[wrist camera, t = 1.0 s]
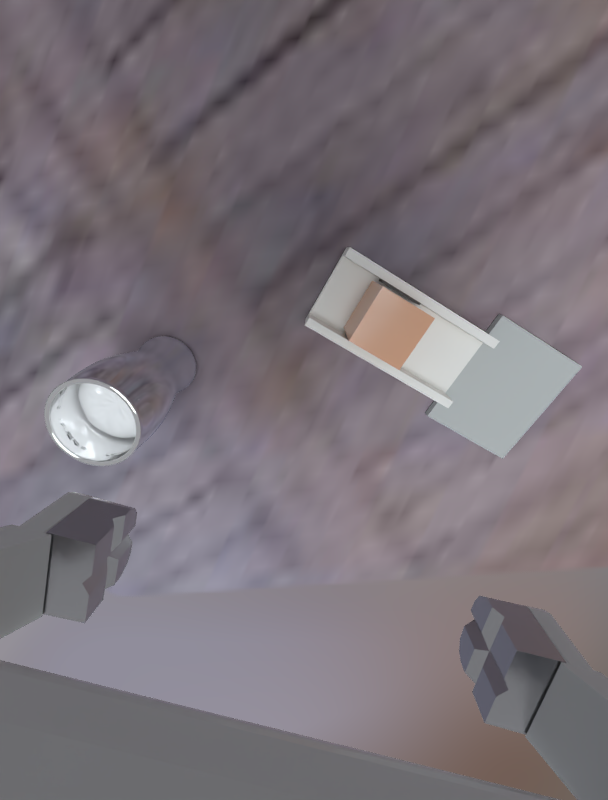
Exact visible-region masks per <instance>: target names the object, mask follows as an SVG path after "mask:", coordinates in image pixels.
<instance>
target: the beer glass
mask: <svg viewBox="0 0 608 800" xmlns="http://www.w3.org/2000/svg"><path fill="white" fill-rule="evenodd" d="M195 375H196V361H195V358H194V355H193V353H192V352H191V350H190V349H189V348H188V347H187V346H186V345H185V344H184V343H183V342H181V341H180V340H178V339H176V338H173V337H169V336H157V337H153V338H151V339H149V340H148V341H146V342H145V343H144V344H143V345H142V346H141V347H140V348H139V350H138V351H134V352H127V353H122V354H117V355H114V356H110V357H107V358H104V359H102V360H100V361H97V362H95V363H93V364H91V365H90V366H88V367H86V368H84V369H83V370H81V371H80V372H78V373H77V374H75V375H74V376H73V377H71V378H70V379H68V380H67V381H66V382H64V383H62V384H60V385H59V386H58V387H56V388H55V389H54V390H53V391H52V392H51V394H50V395H49V397H48V399H47V401H46V404H45V409H44V418H45V424H46V427H47V430H48V432H49V434H50V436H51V438H52V439H53V441H54V442H55V443H56V445H57V446H58V447H59V448H60V449H61V450H62V451H63V452H65V453H66V454H67V455H69V456H70V457H72V458H73V459H75V460H77V461H80V462H82V463H85V464H89V465H94V466H110V465H114V464H118V463H120V462H122V461H124V460H126V459H127V458H128V457H130V456H131V455H132V454H133V452H134V451H135V450H137V449H138V448H139V447H140V446H141V445H142V444H143V443H145V442H146V441H147V440H148V439H149V438H150V437H151V436H152V435H153V434H154V433H155V432H156V431H157V429H158V428H159V427H160V425H161V424H162V423H163V421H164V420H165V418H166V417H167V415H168V413H169V411H170V409H171V406H172V404H173V401H174V399H175V396H176V394H177V393H178V392H180V391H182V390H184V389H186V388H187V387H188V386H189V385H190V384H191V383H192V382H193V380H194V378H195Z"/></svg>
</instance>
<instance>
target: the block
mask: <svg viewBox="0 0 608 800" xmlns="http://www.w3.org/2000/svg"><path fill="white" fill-rule="evenodd" d="M434 319H435V318H433V317H432V316H430V315H429V314H427V313H425V312H424V311H422V310H421V309H419V308H417V307H416V306H414V305H413V304H411V303H409V302H408V301H406V300H404V299H403V298H401V297H400V296H398V295H396V294H395V293H393V292H392V291H390V290H388V289H387V288H385V287H383V286H382V285H380V284H378V283H376V282H374V281H372V282H371V283H370V285H369V287H368V288H367V290H366V291H365V293H364V295H363V296H362V298H361V300H360V301H359V303H358V305H357V306H356V308H355V309H354V311H353V313H352V314H351V316H350V318H349V319H348V321H347V322H346V324H345V326H344V330H345V332H346V335H347V337H348V340H349V341H350V342H352V343H353V344H355V345H357V346H359V347H360V348H362V349H364V350H365V351H367V352H369V353H371V354H372V355H374V356H376V357H377V358H379V359H381V360H383V361H384V362H386V363H388V364H389V365H391V366H393V367H394V368H396V369H398V370H400V368H401V367H402V366H403V364H404V363H405V361H406V360H407V358H408V357H409V355H410V354H411V353H412V351H413V350H414V348H415V347H416V345H417V344H418V342H419V341H420V340H421V338H422V337H423V335H424V334H425V332H426V331H427V329H428V328H429V327H430V325H431V324H432V322H433V321H434Z"/></svg>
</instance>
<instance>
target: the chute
mask: <svg viewBox="0 0 608 800" xmlns="http://www.w3.org/2000/svg"><path fill="white" fill-rule="evenodd" d="M372 281H374V282H376V283H378V284H380V285H382V286H383V287H385V288H387V289H388V290H390V291H392V292H393V293H395V294H396V295H398V296H400V297H401V298H403V299H404V300H406V301H408V302H409V303H411V304H413V305H414V306H416V307H417V308H419V309H421V310H422V311H424V312H425V313H427V314H429V315H430V316H432V317H433V318H435V319H434V321H433V322H432V324H431V325H430V327H429V328H428V329H427V331H426V332H425V334H424V335H423V337H422V338H421V340H420V341H419V342H418V344H417V345H416V347H415V348H414V350H413V351H412V353H411V354H410V355H409V357H408V358H407V360H406V361H405V363H404V364H403V366H402V367H401V368H400V370H398V369H396V368H394V367H393V366H391V365H389V364H388V363H386V362H384V361H383V360H381V359H379V358H377V357H376V356H374V355H372V354H371V353H369V352H367V351H365V350H364V349H362V348H360V347H359V346H357V345H355V344H353V343H352V342H350V341H349V340H348V337H347V335H346V332H345V330H344V326H345V324H346V322H347V321H348V319H349V318H350V316H351V314H352V313H353V311H354V309H355V308H356V306H357V305H358V303H359V301H360V300H361V298H362V296H363V295H364V293H365V291H366V290H367V288H368V287H369V285H370V283H371V282H372ZM305 326H307V327H308V328H310V329H312V330H314V331H315V332H317V333H319V334H321V335H322V336H324V337H326V338H327V339H329V340H331V341H333V342H334V343H336V344H338V345H340V346H341V347H343V348H345V349H346V350H348V351H350V352H352V353H353V354H355V355H357V356H359V357H360V358H362V359H364V360H365V361H367V362H369V363H371V364H372V365H374V366H376V367H377V368H379V369H381V370H383V371H384V372H386V373H388V374H390V375H391V376H393V377H395V378H396V379H398V380H400V381H402V382H403V383H405V384H407V385H409V386H410V387H412V388H414V389H415V390H417V391H419V392H421V393H422V394H424V395H426V396H428V397H429V398H431V399H433V400H434V401H436V402H438V403H440V404H441V405H443V406H445V407H447V408H449V407H450V406H451V404H452V403H453V401H452V400H451V399H450V398H449V397H448V395H447V394H446V391H447V390H448V389H449V387H450V386H451V385H452V383H453V382H454V381H455V379H456V378H457V377H458V375H459V374H460V373H461V371H462V370H463V369H464V367H465V366H466V365H467V363H468V362H469V361H470V359H471V358H472V357H473V355H474V354H475V353H476V351H477V350H478V349H479V347H480V346H481V345H482V343H484V344H486V345H488V346H490V347H492V348H493V349H494V348H495V347H496V346H497V344H498V343H499V342H500V341H498V340H497V339H495V338H494V337H492V336H490V335H489V334H487V333H486V332H484V331H483V330H481V329H479V328H478V327H476V326H475V325H473V324H471V323H470V322H468V321H467V320H465V319H463V318H462V317H460V316H459V315H457V314H455V313H454V312H452V311H451V310H449V309H448V308H446V307H444V306H443V305H441V304H440V303H438V302H436V301H435V300H433V299H432V298H430V297H428V296H427V295H425V294H424V293H422V292H421V291H419V290H417V289H416V288H414V287H413V286H411V285H409V284H408V283H406V282H405V281H403V280H401V279H400V278H398V277H397V276H395V275H394V274H392V273H390V272H389V271H387V270H386V269H384V268H382V267H381V266H379V265H378V264H376V263H374V262H373V261H371V260H370V259H368V258H367V257H365V256H363V255H362V254H360V253H359V252H357V251H355V250H354V249H352V248H351V247H346V249H345V251H344V253H343V254H342V256H341V258H340V260H339V261H338V263H337V265H336V267H335V268H334V270H333V272H332V274H331V275H330V277H329V279H328V280H327V282H326V284H325V286H324V287H323V289H322V291H321V293H320V294H319V296H318V298H317V300H316V301H315V303H314V305H313V307H312V308H311V310H310V312H309V314H308V315H307V317H306V319H305Z"/></svg>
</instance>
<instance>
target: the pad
mask: <svg viewBox="0 0 608 800" xmlns="http://www.w3.org/2000/svg"><path fill="white" fill-rule="evenodd" d="M486 333H487V334H489V335H490V336H492V337H494V338H495V339H497V340H498V341H500V342H499V343H498V344H497V346H496V347H495V348H494V349H493V348H492V347H490V346H488V345H486V344H484V343H482V345H481V346H480V347H479V349H478V350H477V351H476V353H475V354H474V355H473V357H472V358H471V359H470V361H469V362H468V363H467V365H466V366H465V367H464V369H463V370H462V371H461V373H460V374H459V375H458V377H457V378H456V379H455V381H454V382H453V383H452V385H451V386H450V387H449V389H448V390H447V391H446V394H447V395H448V397H449V398H450V399H451V400H452V401H453V403H452V404H451V406H450V407H449V408H447V407H445V406H443V405H441V404H440V403H438V402H436V401H433V403H432V404H431V405H430V407H429V408H428V410H427V411H426V412H425V413H426V415H427V416H428V417H430V418H432V419H434V420H435V421H437V422H439V423H441V424H442V425H444V426H446V427H448V428H449V429H451V430H453V431H455V432H456V433H458V434H460V435H462V436H463V437H465V438H467V439H469V440H470V441H472V442H474V443H476V444H477V445H479V446H481V447H483V448H484V449H486V450H488V451H490V452H491V453H493V454H495V455H497V456H499V457H500V458H502V459H503V458H504V457H505V456H506V454H507V453H508V452H509V451H510V450H511V449H512V447H513V446H514V445H515V444H516V443H517V442H518V441H519V439H520V438H521V437H522V436H523V435H524V434H525V432H526V431H527V430H528V429H529V428H530V427H531V425H532V424H533V423H534V422H535V421H536V420H537V419H538V417H539V416H540V415H541V414H542V413H543V412H544V410H545V409H546V408H547V407H548V406H549V405H550V403H551V402H552V401H553V400H554V399H555V398H556V397H557V395H558V394H559V393H560V392H561V391H562V390H563V388H564V387H565V386H566V385H567V384H568V383H569V382H570V380H571V379H572V378H573V377H574V376H575V375H576V373H577V372H578V371H579V370H580V369H581V368H582V366H580V365H579V364H577V363H576V362H574V361H573V360H571V359H569V358H568V357H566V356H565V355H563V354H562V353H560V352H559V351H557V350H556V349H554V348H552V347H551V346H549V345H548V344H546V343H545V342H543V341H542V340H540V339H538V338H537V337H535V336H534V335H532V334H531V333H529V332H528V331H526V330H524V329H523V328H521V327H520V326H518V325H517V324H515V323H514V322H512V321H510V320H509V319H507V318H506V317H504V316H503V315H500V314H498V316H497V317H496V318H495V320H494V321H493V322H492V324H491V325H490V326H489V328H488V329H487V331H486Z"/></svg>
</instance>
